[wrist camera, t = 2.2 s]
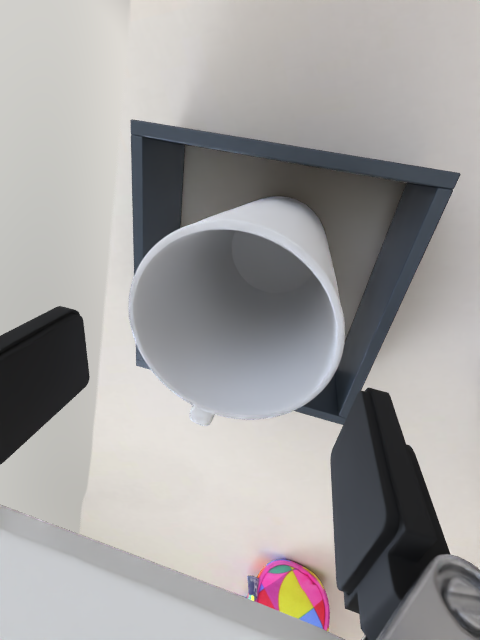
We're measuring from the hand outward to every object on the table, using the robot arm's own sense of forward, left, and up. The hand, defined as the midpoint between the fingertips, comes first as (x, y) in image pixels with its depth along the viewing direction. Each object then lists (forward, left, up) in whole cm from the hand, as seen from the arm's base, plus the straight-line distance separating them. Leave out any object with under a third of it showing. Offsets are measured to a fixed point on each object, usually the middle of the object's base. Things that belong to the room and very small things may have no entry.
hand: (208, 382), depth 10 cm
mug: (0, 0, -12) cm, 12 cm away
